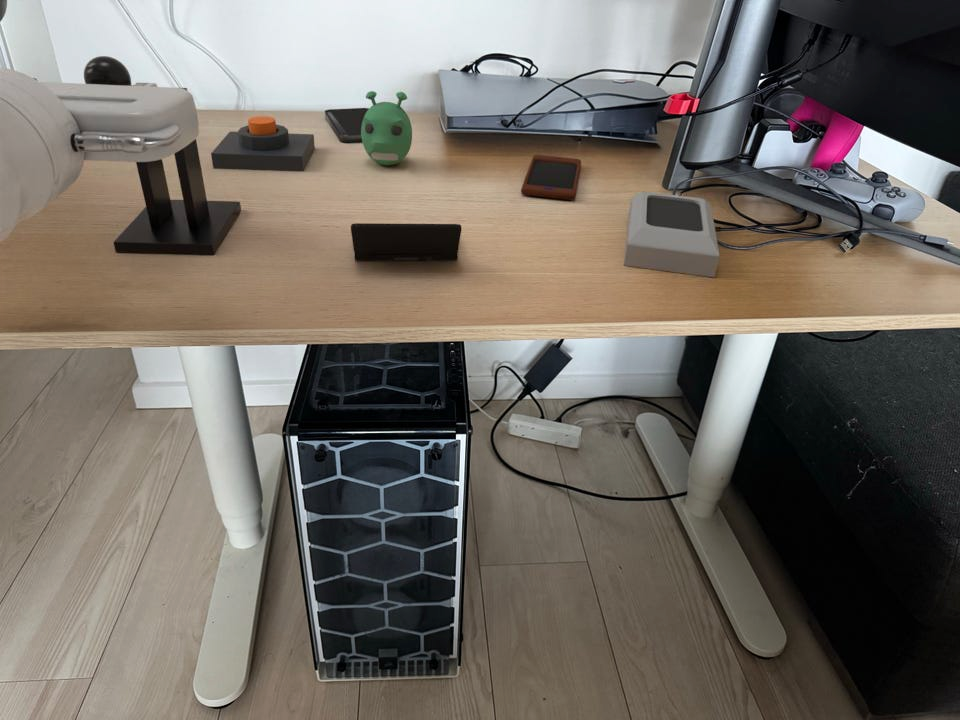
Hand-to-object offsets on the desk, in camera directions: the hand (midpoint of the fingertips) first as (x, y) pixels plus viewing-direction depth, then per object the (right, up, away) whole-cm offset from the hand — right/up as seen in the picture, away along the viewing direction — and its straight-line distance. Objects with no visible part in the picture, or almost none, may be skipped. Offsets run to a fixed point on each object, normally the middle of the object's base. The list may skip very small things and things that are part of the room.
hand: (90, 90), depth 58 cm
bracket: (-1, -8, +21) cm, 22 cm away
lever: (0, +1, +8) cm, 8 cm away
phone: (+12, +15, +56) cm, 59 cm away
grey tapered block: (+54, -9, +24) cm, 59 cm away
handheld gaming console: (+24, -11, +18) cm, 32 cm away
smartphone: (+42, +3, +40) cm, 58 cm away
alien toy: (+19, +5, +42) cm, 46 cm away
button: (+2, +9, +40) cm, 41 cm away
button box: (+2, +6, +42) cm, 42 cm away
